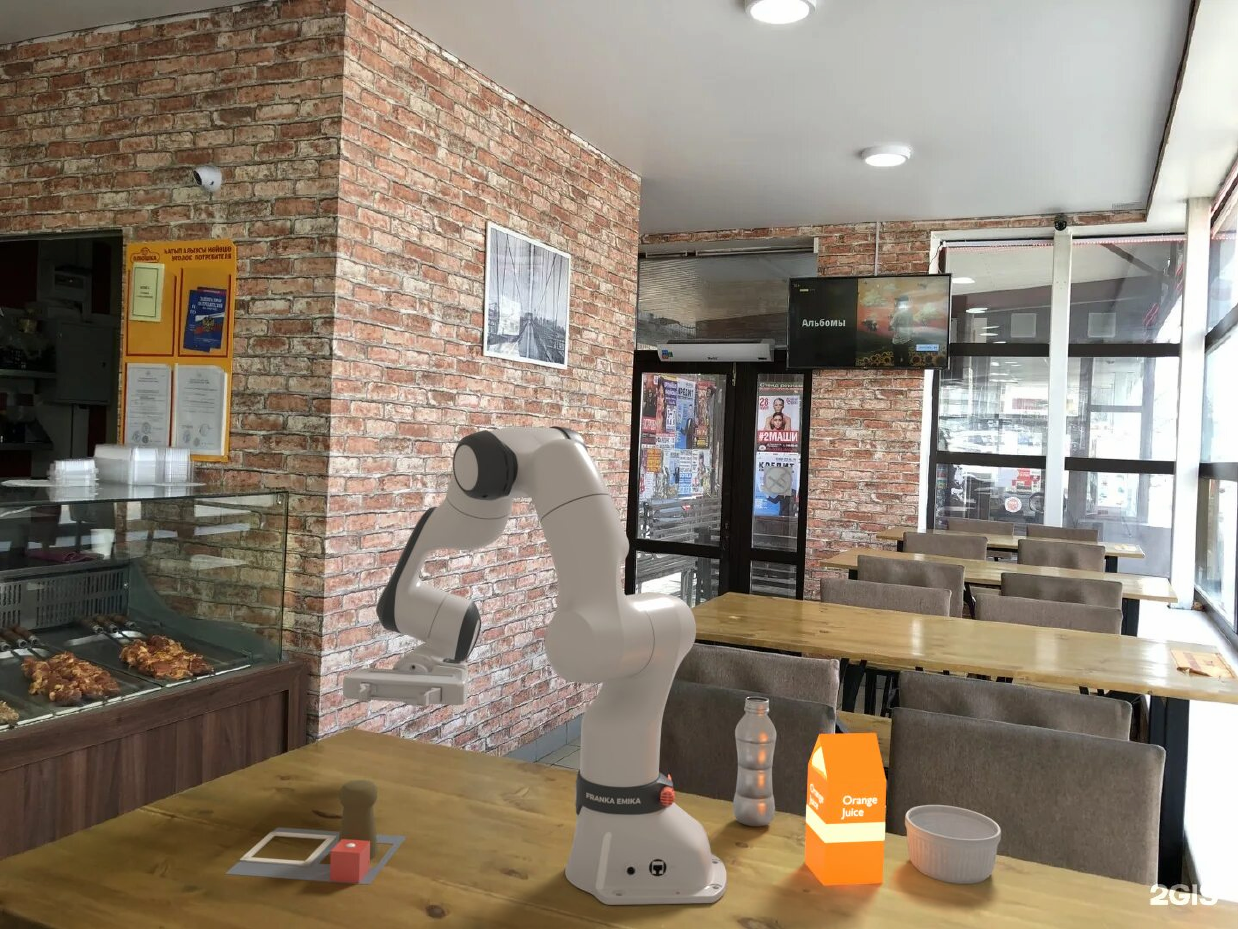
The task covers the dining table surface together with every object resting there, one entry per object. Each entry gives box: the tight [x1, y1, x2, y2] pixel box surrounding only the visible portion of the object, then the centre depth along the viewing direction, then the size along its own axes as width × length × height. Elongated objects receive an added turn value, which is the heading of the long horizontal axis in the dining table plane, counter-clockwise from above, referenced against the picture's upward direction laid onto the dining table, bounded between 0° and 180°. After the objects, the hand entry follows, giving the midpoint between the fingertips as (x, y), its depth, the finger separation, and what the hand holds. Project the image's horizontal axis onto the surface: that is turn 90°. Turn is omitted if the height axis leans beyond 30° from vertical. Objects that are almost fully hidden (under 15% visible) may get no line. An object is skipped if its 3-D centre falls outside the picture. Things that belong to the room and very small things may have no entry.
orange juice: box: [804, 732, 887, 886], centre depth 140 cm, size 8×9×20 cm
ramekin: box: [904, 804, 1002, 885], centre depth 142 cm, size 13×13×7 cm
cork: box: [338, 779, 379, 860], centre depth 139 cm, size 6×6×11 cm
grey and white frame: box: [224, 827, 407, 886], centre depth 139 cm, size 20×16×1 cm
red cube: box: [329, 839, 371, 883], centre depth 132 cm, size 4×4×4 cm
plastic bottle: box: [732, 696, 777, 827], centre depth 157 cm, size 6×7×20 cm
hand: (392, 699), depth 153 cm, fingers open, 8 cm apart
